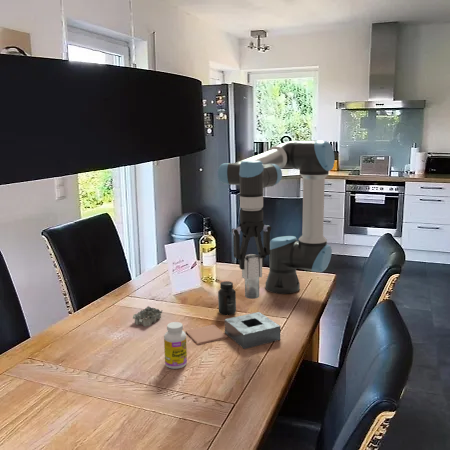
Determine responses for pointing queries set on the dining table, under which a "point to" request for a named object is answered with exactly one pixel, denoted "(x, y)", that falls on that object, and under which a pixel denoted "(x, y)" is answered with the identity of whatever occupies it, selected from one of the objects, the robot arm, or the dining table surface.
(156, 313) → the grey lumpy block
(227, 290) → the supplement bottle
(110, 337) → the dining table surface
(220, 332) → the rubber pad
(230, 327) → the bored block
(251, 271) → the steel plug
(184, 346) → the supplement bottle
